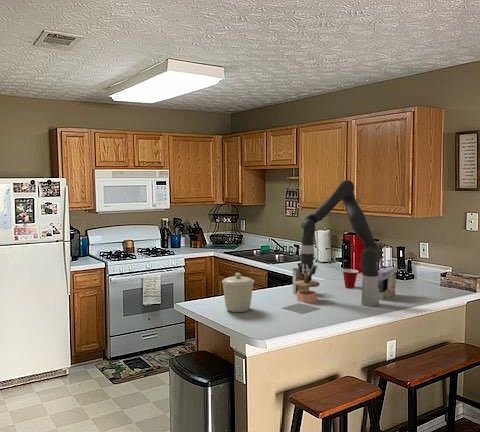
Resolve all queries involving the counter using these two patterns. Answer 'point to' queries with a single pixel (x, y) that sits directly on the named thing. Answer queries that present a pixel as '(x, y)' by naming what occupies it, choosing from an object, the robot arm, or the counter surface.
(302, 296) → the terracotta bowl
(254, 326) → the counter surface
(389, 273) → the cake pan box
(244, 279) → the canister
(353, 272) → the plastic cup
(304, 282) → the walnut lid
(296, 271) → the coffee box
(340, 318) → the counter surface
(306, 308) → the rubber mat
